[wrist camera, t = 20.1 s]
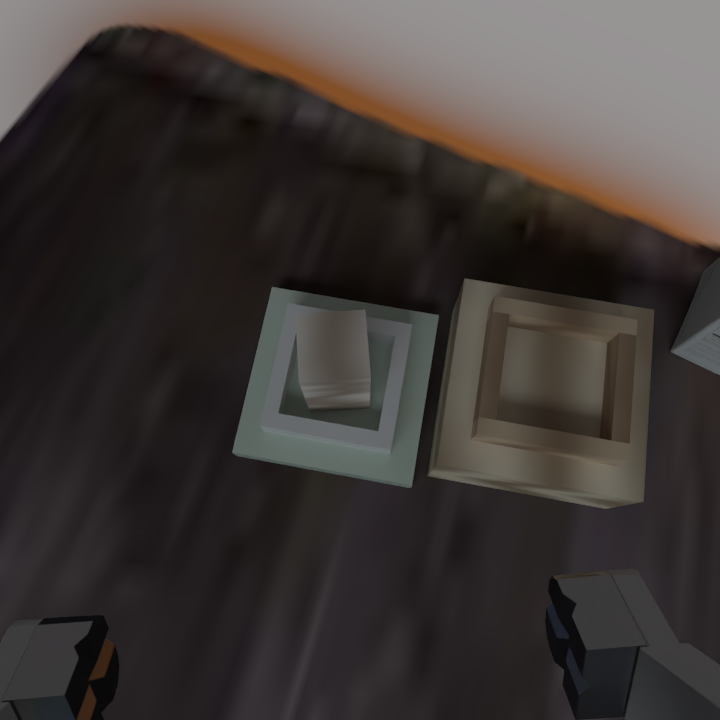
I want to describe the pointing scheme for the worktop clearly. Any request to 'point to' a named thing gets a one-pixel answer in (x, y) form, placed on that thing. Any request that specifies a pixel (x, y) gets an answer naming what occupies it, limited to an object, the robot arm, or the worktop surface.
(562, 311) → the birch stand
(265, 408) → the sage socket plate
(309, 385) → the cream plug block
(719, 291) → the supplement box
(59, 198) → the worktop surface
